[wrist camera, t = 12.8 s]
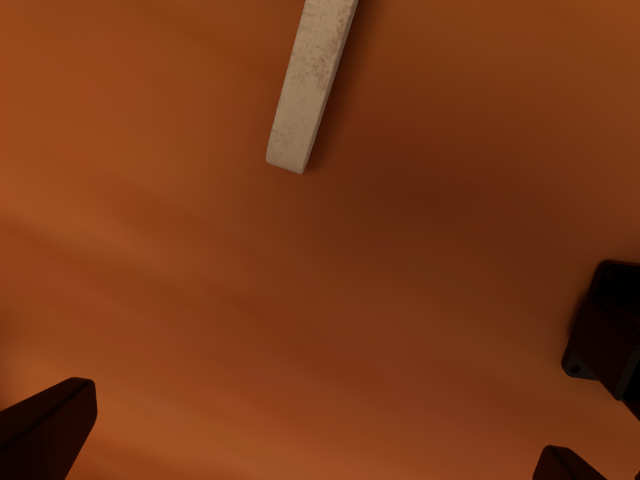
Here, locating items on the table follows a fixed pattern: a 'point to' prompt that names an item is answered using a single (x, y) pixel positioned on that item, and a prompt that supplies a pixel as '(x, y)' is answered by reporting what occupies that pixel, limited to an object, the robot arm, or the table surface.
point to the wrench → (309, 81)
